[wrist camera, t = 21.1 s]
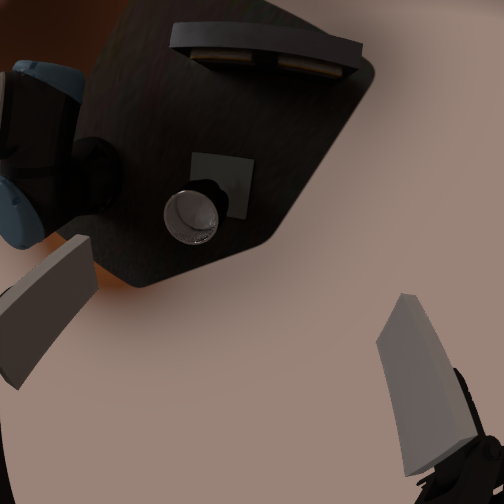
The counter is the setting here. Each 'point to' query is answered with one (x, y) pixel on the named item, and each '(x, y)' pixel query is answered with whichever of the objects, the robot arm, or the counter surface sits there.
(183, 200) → the beer glass
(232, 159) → the rubber mat
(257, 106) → the counter surface
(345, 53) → the label panel
